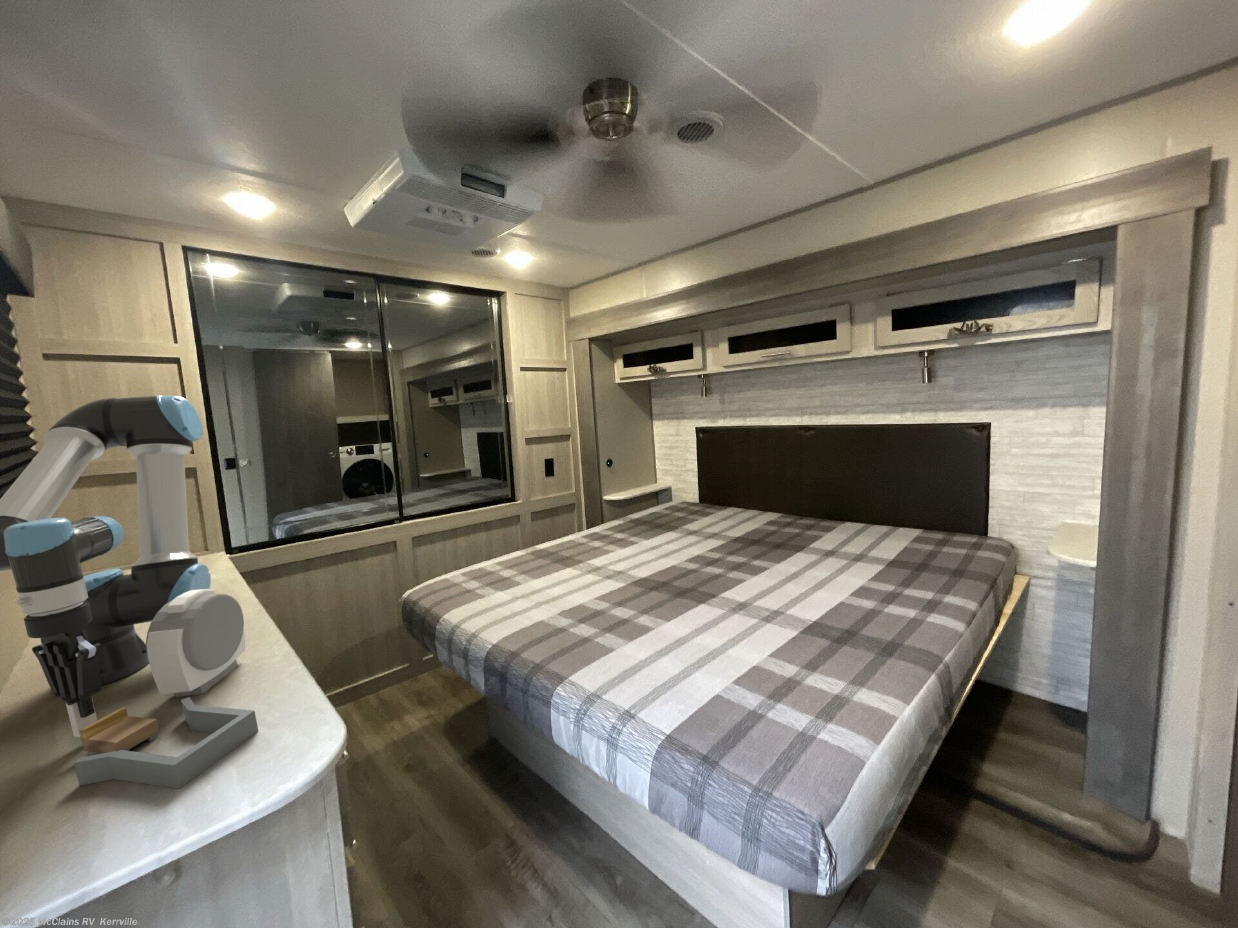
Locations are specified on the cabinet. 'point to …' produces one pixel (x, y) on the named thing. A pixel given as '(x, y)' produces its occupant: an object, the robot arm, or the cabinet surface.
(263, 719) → the cabinet surface
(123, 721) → the tan block yellow end
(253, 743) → the cabinet surface
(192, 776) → the bay
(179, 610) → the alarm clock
